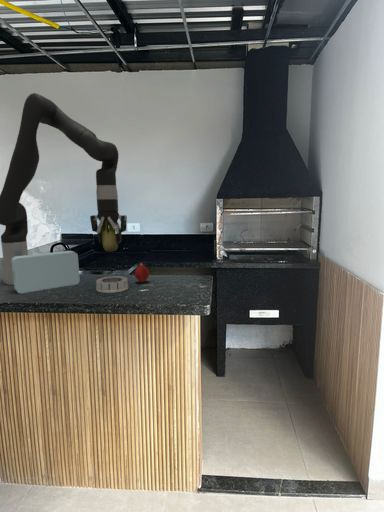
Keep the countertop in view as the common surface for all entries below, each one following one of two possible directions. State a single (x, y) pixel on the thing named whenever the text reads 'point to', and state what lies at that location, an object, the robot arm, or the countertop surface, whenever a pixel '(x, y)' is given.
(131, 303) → the countertop surface
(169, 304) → the countertop surface
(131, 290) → the countertop surface
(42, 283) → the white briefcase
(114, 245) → the fennel bulb
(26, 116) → the robot arm
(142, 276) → the onion
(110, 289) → the white low ring
